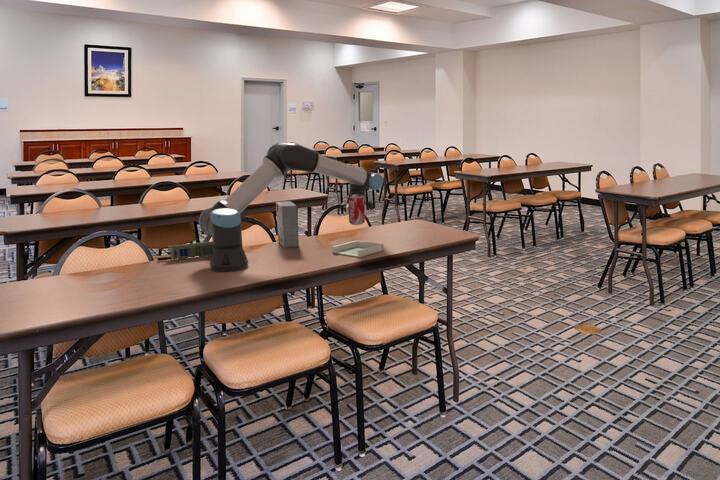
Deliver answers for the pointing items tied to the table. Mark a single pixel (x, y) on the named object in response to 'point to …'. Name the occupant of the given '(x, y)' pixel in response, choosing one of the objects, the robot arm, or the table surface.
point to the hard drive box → (287, 224)
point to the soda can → (356, 210)
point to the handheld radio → (189, 250)
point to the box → (357, 249)
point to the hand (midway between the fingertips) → (356, 209)
